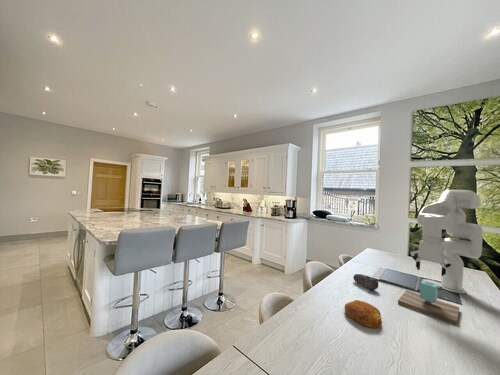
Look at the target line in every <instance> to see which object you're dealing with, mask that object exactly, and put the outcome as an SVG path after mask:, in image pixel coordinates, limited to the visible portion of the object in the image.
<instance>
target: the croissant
mask: <svg viewBox="0 0 500 375" xmlns="http://www.w3.org/2000/svg"><path fill="white" fill-rule="evenodd" d="M344 312H345V314H347V316H349V317H350V318H352V319H354V320H355V321H356V322H357V323H359V324H362V325H363V326H366V327H368V328H373V329H377V328H380V327H381V325H382V323H383V321H382V317H381V311H380V310H379V309H378V308H377V307H376V306H375V305H372V304H371V303H368V302H366V301H362V300H358V299H355V300H353V301H350V302H347V303H345V304H344Z"/></svg>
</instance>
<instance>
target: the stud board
mask: <svg viewBox="0 0 500 375" xmlns="http://www.w3.org/2000/svg"><path fill="white" fill-rule="evenodd" d="M397 300H398V301H397V304H398V305H401V306H404V307H406V308H407V309H408V308H409V309H411V310H414V311H417V312H419V313H422V314H424V315H427V316H430V317H433V318H435V319H438V320H441V321H443V322H446V323H448V324H452V325H454V326H457V324H458V318H459V313H460V306H456V305H453V304H451V303H448V302H444V301H442V300H438V299H437V300H436V303H433V302H430V301H427V300H424V299H421V298H420V293H418V292H417V293H416V292H413V291H410V290H407V289H406V290H405V291H404V292H403V294H402V295H400V297H399V299H397Z"/></svg>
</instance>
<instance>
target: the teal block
mask: <svg viewBox="0 0 500 375" xmlns="http://www.w3.org/2000/svg"><path fill="white" fill-rule="evenodd" d="M438 287H439V286H438V283H435V282H432V281H429V280H424V279H422V280H421V281H420V291H419V294H420V298H421V299H424V300H427V301H430V302H433V303H436V300H438Z"/></svg>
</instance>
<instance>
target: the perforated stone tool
mask: <svg viewBox="0 0 500 375" xmlns="http://www.w3.org/2000/svg"><path fill="white" fill-rule="evenodd" d="M353 281H354V282H355V283H356V284H358V285H360V286H361V287H363V288H365V289H369V290H370V291H373V290H377V289H378V288H379V281H378V279H376V278H374V277H371V276H369V275H365V274H361V273H355V274H354V275H353Z"/></svg>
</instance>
